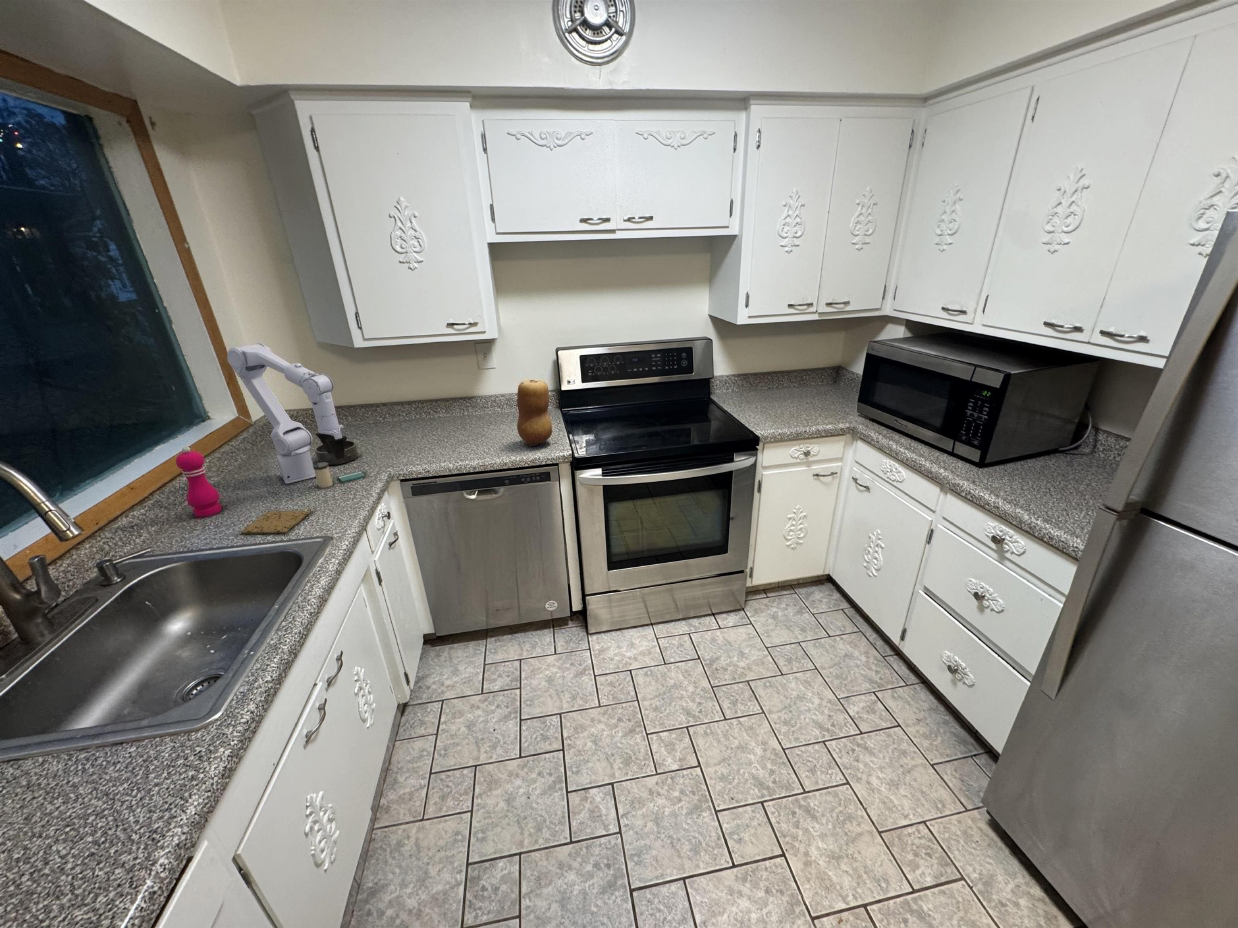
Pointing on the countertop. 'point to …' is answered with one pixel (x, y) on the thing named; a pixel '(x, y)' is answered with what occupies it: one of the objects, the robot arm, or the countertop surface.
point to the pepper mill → (198, 484)
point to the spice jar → (323, 474)
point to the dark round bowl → (323, 456)
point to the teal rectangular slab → (351, 476)
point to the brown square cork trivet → (275, 522)
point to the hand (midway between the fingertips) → (336, 455)
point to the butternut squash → (533, 412)
